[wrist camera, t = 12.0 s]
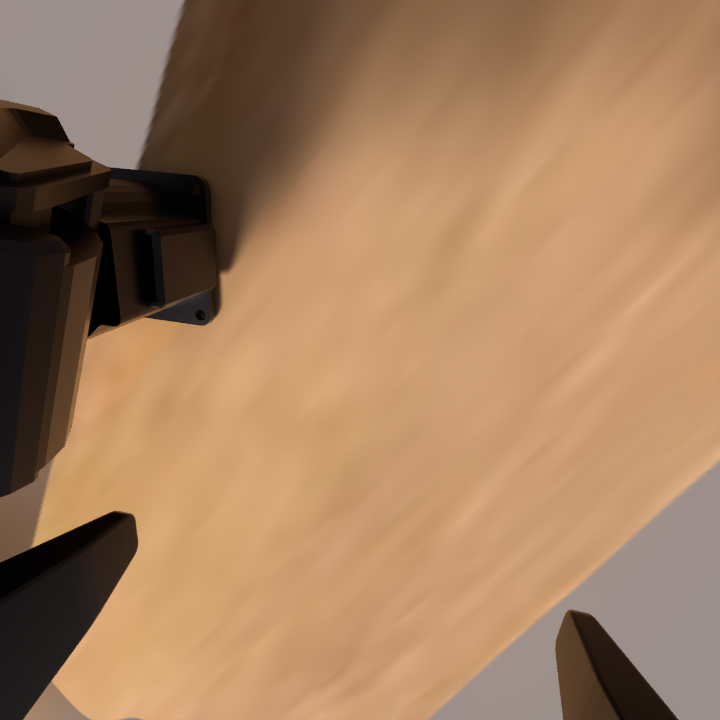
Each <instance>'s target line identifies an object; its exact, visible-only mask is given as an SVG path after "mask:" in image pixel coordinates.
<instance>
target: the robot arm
mask: <svg viewBox="0 0 720 720" xmlns="http://www.w3.org/2000/svg"><path fill="white" fill-rule="evenodd" d="M195 183H198V185H199V187H200V192H199V193H198V194H197V193H196V192H195V191H194V184H195ZM216 285H217V278H216V247H215V230H214V229H213V227H212V225H211V197H210V186H209V183H208V182H207V180H206V179H205V178H203V177H201V176H196V175H185V174H174V173H163V172H153V171H142V170H131V169H120V168H110V167H106V166H104V165H102V164H100V163H98V162H96V161H94V160H92V159H91V158H89V157H87V156H86V155H84V154H82V153H80V152H79V151H77V150H75V149H74V144H73V143H71V142H70V141H69V139H68V137H67V135H66V133H65V131H64V129H63V127H62V126H61V124H60V122H59V120H58V118H57V117H56V116H54V115H52V114H50V113H48V112H46V111H44V110H42V109H40V108H36V107H31V106H27V105H23V104H18V103H14V102H9V101H4V100H0V497H3V496H5V495H8V494H11V493H13V492H15V491H17V490H18V489H21V488H22V487H24V486H26V485H28V484H30V483H32V482H34V481H35V480H36V479H37V478H38V475H39V470H40V469H42V468H43V467H44V466H46V465H47V464H48V463H49V462H50V461H51V460H52V459H53V458H54V457H55V456H56V454H57V453H58V452H59V451H60V450H61V449H62V448H63V447H64V446H65V444H66V441H67V438H68V435H69V433H70V430H71V427H72V422H73V416H74V410H75V405H76V399H77V393H78V387H79V382H80V376H81V370H82V364H83V359H84V353H85V347H86V341H87V340H88V339H90V338H93V337H95V336H98V335H100V334H103V333H105V332H108V331H110V330H113V329H116V328H118V327H121V326H123V325H126V324H128V323H131V322H133V321H136V320H138V319H141V318H144V317H145V318H152V319H159V320H166V321H173V322H180V323H187V324H194V325H201V326H202V325H206V324H208V323H210V322H212V321H213V319H214V316H215V310H214V287H215V286H216ZM200 310H202V311H203V312H204V313H205V318H203V317H202V316H201V315H200ZM137 548H138V537H137V528H136V520H135V517H134V516H133V514H130V513H126V512H121V511H113V512H110V513H108V514H106V515H104V516H101V517H99V518H97V519H95V520H93V521H90V522H88V523H86V524H84V525H82V526H79V527H77V528H75V529H73V530H71V531H69V532H66V533H64V534H62V535H60V536H58V537H55V538H53V539H51V540H49V541H47V542H44V543H42V544H40V545H38V546H36V547H33V548H31V549H29V550H27V551H25V552H23V553H20V554H18V555H16V556H14V557H12V558H9V559H7V560H5V561H3V562H1V563H0V720H23V719H24V717H25V716H26V715H27V713H28V712H29V711H30V709H31V708H32V707H33V705H34V704H35V702H36V701H37V700H38V698H39V697H40V696H41V694H42V693H43V692H44V690H45V689H46V687H47V686H48V685H49V683H50V682H51V681H52V679H53V678H54V677H55V675H56V674H57V672H58V671H59V670H60V668H61V667H62V666H63V664H64V663H65V661H66V660H67V659H68V657H69V656H70V655H71V653H72V652H73V651H74V649H75V648H76V646H77V645H78V644H79V642H80V641H81V640H82V638H83V637H84V635H85V634H86V633H87V631H88V630H89V628H90V627H91V625H92V624H93V623H94V621H95V619H96V618H97V616H98V615H99V613H100V612H101V610H102V608H103V607H104V605H105V603H106V602H107V600H108V598H109V597H110V595H111V593H112V592H113V590H114V589H115V587H116V585H117V584H118V582H119V580H120V579H121V577H122V575H123V574H124V572H125V570H126V569H127V567H128V565H129V564H130V562H131V560H132V559H133V557H134V555H135V553H136V551H137ZM555 647H556V648H555V651H556V661H557V669H558V678H559V687H560V696H561V705H562V713H563V720H678V718H677V717H676V716H675V715H674V714H673V712H672V711H671V710H670V709H669V707H668V706H667V705H666V704H665V703H664V701H663V700H662V699H661V698H660V696H659V695H658V694H657V693H656V692H655V690H654V689H653V688H652V687H651V686H650V684H649V683H648V682H647V681H646V679H645V678H644V677H643V676H642V675H641V673H640V672H639V671H638V670H637V669H636V667H635V666H634V665H633V664H632V662H631V661H630V660H629V659H628V658H627V657H626V655H625V654H624V653H623V651H622V650H621V649H620V648H619V647H618V645H617V644H616V643H615V642H614V640H613V639H612V638H611V637H610V636H609V635H608V633H607V632H606V631H605V630H604V628H603V627H602V626H601V625H600V624H599V622H598V621H597V620H596V619H595V618H594V617H593V616H592V615H590V614H589V613H585V612H580V611H576V610H568V611H567V612H566V614H565V616H564V619H563V622H562V625H561V627H560V630H559V633H558V636H557V639H556V646H555Z"/></svg>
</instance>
